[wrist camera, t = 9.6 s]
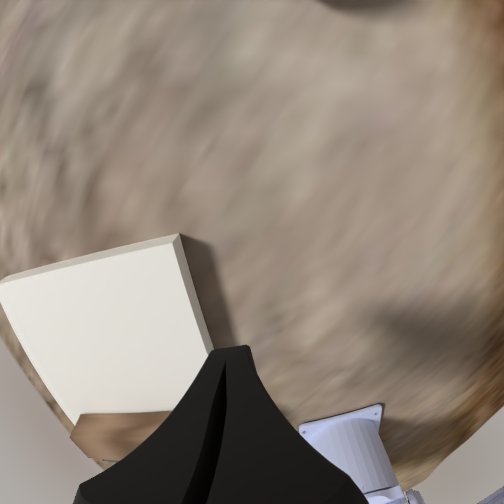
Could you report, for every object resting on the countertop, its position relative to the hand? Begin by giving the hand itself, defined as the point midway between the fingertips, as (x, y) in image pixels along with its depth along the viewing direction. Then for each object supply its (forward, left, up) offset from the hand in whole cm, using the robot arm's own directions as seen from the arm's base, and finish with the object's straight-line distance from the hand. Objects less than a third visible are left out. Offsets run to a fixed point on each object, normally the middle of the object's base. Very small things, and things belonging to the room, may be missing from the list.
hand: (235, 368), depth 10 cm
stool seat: (-6, +11, -9) cm, 16 cm away
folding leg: (-11, +10, -7) cm, 17 cm away
